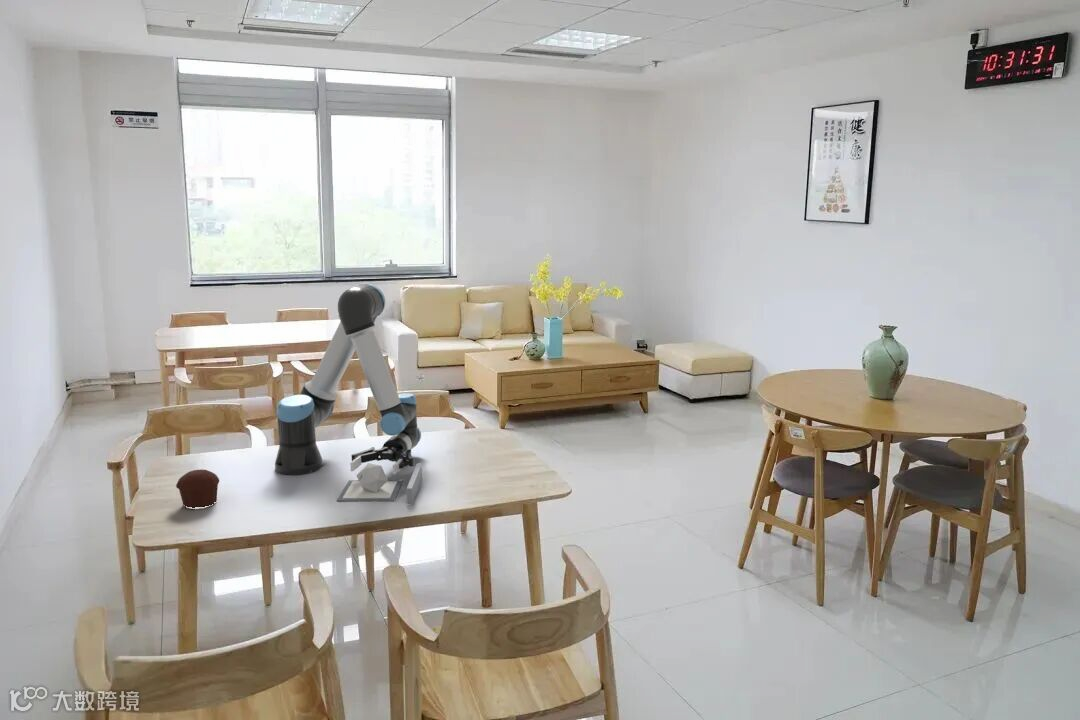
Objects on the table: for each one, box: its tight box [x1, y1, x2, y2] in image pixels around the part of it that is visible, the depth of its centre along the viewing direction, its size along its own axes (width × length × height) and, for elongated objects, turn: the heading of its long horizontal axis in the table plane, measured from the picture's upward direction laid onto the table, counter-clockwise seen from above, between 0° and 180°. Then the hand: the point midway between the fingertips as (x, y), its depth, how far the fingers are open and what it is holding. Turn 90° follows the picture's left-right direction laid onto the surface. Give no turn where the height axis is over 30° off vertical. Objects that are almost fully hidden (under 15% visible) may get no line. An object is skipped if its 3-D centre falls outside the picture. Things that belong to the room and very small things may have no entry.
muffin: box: [175, 469, 220, 508], centre depth 232 cm, size 12×11×10 cm
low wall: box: [406, 463, 423, 506], centre depth 243 cm, size 2×22×5 cm, turn 1°
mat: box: [335, 479, 404, 503], centre depth 243 cm, size 17×17×1 cm
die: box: [356, 462, 389, 493], centre depth 242 cm, size 8×9×10 cm
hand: (372, 468), depth 243 cm, fingers open, 13 cm apart
